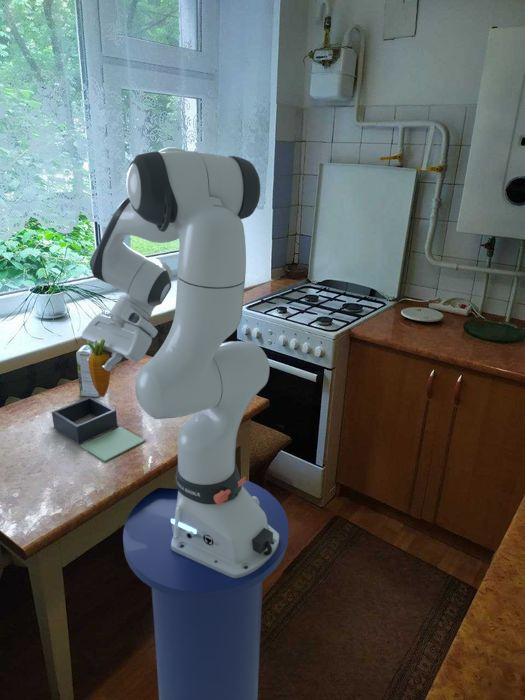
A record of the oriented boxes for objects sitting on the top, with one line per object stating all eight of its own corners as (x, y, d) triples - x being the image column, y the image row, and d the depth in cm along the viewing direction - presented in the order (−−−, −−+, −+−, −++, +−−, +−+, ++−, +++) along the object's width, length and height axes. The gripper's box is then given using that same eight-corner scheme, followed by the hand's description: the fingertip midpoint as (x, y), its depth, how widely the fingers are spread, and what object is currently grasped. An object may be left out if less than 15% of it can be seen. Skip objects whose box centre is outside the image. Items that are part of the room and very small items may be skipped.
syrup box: (87, 387, 153) (82, 344, 148) (105, 388, 153) (101, 345, 148) (80, 396, 148) (74, 351, 143) (99, 397, 148) (95, 352, 142)
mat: (145, 441, 127) (144, 440, 127) (104, 462, 118) (104, 460, 118) (120, 427, 132) (120, 426, 132) (80, 446, 124) (80, 445, 123)
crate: (117, 426, 133) (116, 410, 131) (78, 444, 124) (76, 427, 123) (92, 412, 139) (90, 396, 138) (53, 428, 131) (51, 411, 129)
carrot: (88, 399, 120) (81, 341, 115) (100, 390, 125) (94, 334, 119) (105, 402, 119) (99, 344, 113) (117, 393, 123) (112, 337, 118)
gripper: (94, 302, 125) (63, 349, 122) (147, 320, 114) (114, 372, 110) (110, 315, 130) (81, 360, 127) (162, 333, 118) (132, 383, 115)
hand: (97, 366), depth 118 cm, fingers closed on carrot, 4 cm apart
